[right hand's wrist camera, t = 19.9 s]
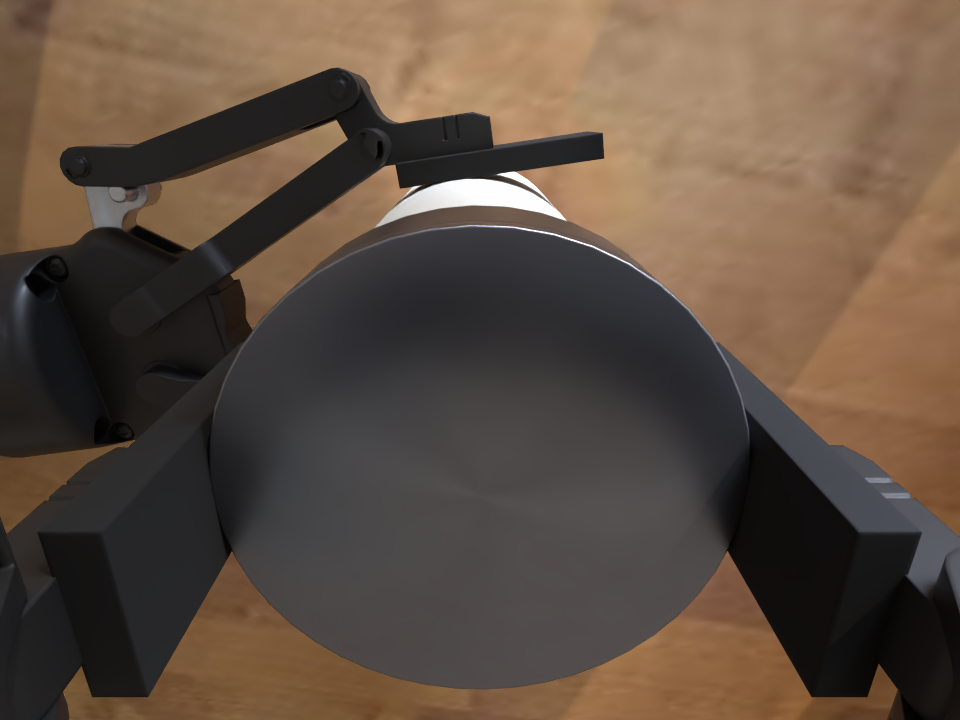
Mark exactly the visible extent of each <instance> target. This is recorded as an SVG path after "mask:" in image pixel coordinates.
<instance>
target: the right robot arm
mask: <svg viewBox="0 0 960 720" xmlns="http://www.w3.org/2000/svg"><path fill="white" fill-rule="evenodd" d="M243 343H244V342H241V343H240V344H239V345H237V346H236V347H235V348H234V349H233V350H232V351H231V352H230V353H229V354H228V355H227V356H226V357H225V358H224V359H222V360H221V361H220V362H219V363H218V364H217V365H216V366H215V367H214V368H213V369H212V370H211V371H210V372H209V373H207V374H206V375H205V376H204V377H203V378H202V379H201V380H200V381H199V382H198V383H197V384H196V385H195V386H193V387H192V388H191V389H190V390H189V391H188V392H187V393H186V394H185V395H184V396H183V397H182V398H181V399H180V400H178V401H177V402H176V403H175V404H174V405H173V406H172V407H171V408H170V409H169V410H168V411H167V412H166V413H165V414H163V415H162V416H161V417H160V418H159V419H158V420H157V421H156V422H155V423H154V424H153V425H152V426H151V427H150V428H148V429H147V430H146V431H145V432H144V433H143V434H142V435H141V436H140V437H139V438H138V439H137V440H136V441H134V442H133V443H132V444H131V445H130V446H129V447H117V448H115V449H114V450H112V451H110V452H108V453H106V454H104V455H102V456H100V457H98V458H96V459H95V460H93V461H91V462H89V463H87V464H86V465H85V466H84V467H83V468H82V469H80V470H79V471H78V472H77V473H76V474H75V475H74V476H72V477H71V478H70V479H69V480H68V481H67V485H62V486H61V487H60V488H59V489H58V490H57V491H55V492H54V493H53V494H52V495H51V496H50V497H49V498H50V499H49V501H44V502H43V503H42V504H41V505H39V506H38V507H37V508H36V509H35V510H34V511H33V512H31V513H30V514H29V515H28V516H27V517H26V518H25V519H23V520H22V521H21V522H20V523H19V524H18V525H17V526H15V527H14V528H13V529H12V530H11V531H10V532H9V533H7V534H6V532H5V529H4V526H3V523H2V521H1V518H0V720H69V713H68V706H67V702H66V699H65V697H64V694H63V690H64V689H65V688H66V686H67V685H68V684H69V682H70V681H71V679H72V678H73V677H74V675H75V674H76V673H77V671H78V670H79V668H80V667H81V666H82V668H83V671H84V674H85V677H86V680H87V683H88V686H89V689H90V692H91V695H92V697H148V696H149V694H150V693H151V691H152V689H153V687H154V686H155V684H156V682H157V680H158V679H159V677H160V675H161V674H162V672H163V670H164V668H165V667H166V665H167V663H168V661H169V660H170V658H171V656H172V654H173V653H174V651H175V649H176V647H177V646H178V644H179V642H180V640H181V639H182V637H183V635H184V633H185V632H186V630H187V628H188V627H189V625H190V623H191V621H192V620H193V618H194V616H195V614H196V613H197V611H198V609H199V607H200V606H201V604H202V602H203V600H204V599H205V597H206V595H207V593H208V592H209V590H210V588H211V586H212V585H213V583H214V581H215V580H216V578H217V576H218V574H219V573H220V571H221V569H222V567H223V566H224V564H225V562H226V560H227V559H228V557H229V555H230V553H231V552H232V550H231V547H230V545H229V543H228V541H227V539H226V537H225V535H224V532H223V530H222V527H221V524H220V521H219V517H218V514H217V510H216V506H215V501H214V496H213V490H212V485H211V480H210V473H209V440H210V433H211V427H212V421H213V415H214V409H215V406H216V403H217V400H218V397H219V394H220V391H221V388H222V385H223V382H224V379H225V376H226V374H227V372H228V371H229V369H230V367H231V365H232V363H233V361H234V359H235V357H236V355H237V353H238V351H239V349H240V347H241V346H242V345H243ZM715 343H716V344H717V346H718V348H719V349H720V351H721V353H722V354H723V356H724V358H725V359H726V361H727V363H728V364H729V366H730V369H731V371H732V374H733V376H734V379H735V381H736V384H737V386H738V389H739V391H740V394H741V396H742V400H743V405H744V409H745V414H746V418H747V422H748V427H749V440H750V455H751V462H750V473H749V482H748V488H747V493H746V498H745V503H744V507H743V512H742V517H741V520H740V523H739V525H738V528H737V530H736V533H735V535H734V538H733V540H732V543H731V545H730V547H729V549H728V552H729V554H730V556H731V558H732V559H733V561H734V563H735V565H736V566H737V568H738V570H739V571H740V573H741V575H742V577H743V578H744V580H745V582H746V584H747V585H748V587H749V589H750V591H751V592H752V594H753V596H754V598H755V599H756V601H757V603H758V605H759V606H760V608H761V610H762V612H763V613H764V615H765V617H766V618H767V620H768V622H769V624H770V625H771V627H772V629H773V631H774V632H775V634H776V636H777V638H778V639H779V641H780V643H781V645H782V646H783V648H784V650H785V652H786V653H787V655H788V657H789V659H790V660H791V662H792V664H793V666H794V667H795V669H796V671H797V672H798V674H799V676H800V678H801V679H802V681H803V683H804V685H805V686H806V688H807V690H808V692H809V693H810V695H811V697H868V694H869V691H870V688H871V685H872V682H873V679H874V676H875V673H876V670H877V667H878V664H880V666H881V667H882V668H883V670H884V671H885V673H886V674H887V675H888V677H889V678H890V679H891V681H892V682H893V683H894V685H895V686H896V688H897V689H898V691H897V694H896V697H895V699H894V702H893V705H892V708H891V711H890V713H889V716H888V719H887V720H960V537H959V536H958V535H957V534H956V533H955V532H954V531H952V530H951V529H950V528H949V527H948V526H947V525H945V524H944V523H943V522H942V521H941V520H940V519H939V518H937V517H936V516H935V515H934V514H933V513H932V512H931V511H929V510H928V509H927V508H926V507H925V506H924V505H922V504H921V503H920V502H919V501H918V500H917V499H916V498H911V494H910V493H909V492H908V491H906V490H905V489H904V488H903V487H902V486H901V485H899V484H898V483H894V482H893V478H891V477H890V476H889V475H888V474H887V473H886V472H884V471H883V470H882V469H881V468H880V467H879V466H878V465H876V464H875V463H874V462H873V461H872V460H870V459H868V458H866V457H864V456H862V455H860V454H858V453H856V452H854V451H852V450H851V449H849V448H847V447H845V446H843V445H828V444H827V443H826V442H825V441H824V440H823V439H822V438H821V437H820V436H819V435H818V434H816V433H815V432H814V431H813V430H812V429H811V428H810V427H809V426H808V425H807V424H806V423H805V422H804V421H803V420H801V419H800V418H799V417H798V416H797V415H796V414H795V413H794V412H793V411H792V410H791V409H790V408H789V407H788V406H786V405H785V404H784V403H783V402H782V401H781V400H780V399H779V398H778V397H777V396H776V395H775V394H774V393H773V392H771V391H770V390H769V389H768V388H767V387H766V386H765V385H764V384H763V383H762V382H761V381H760V380H759V379H758V378H756V377H755V376H754V375H753V374H752V373H751V372H750V371H749V370H748V369H747V368H746V367H745V366H744V365H742V364H741V363H740V362H739V361H738V360H737V359H736V358H735V357H734V356H733V355H732V354H731V353H730V352H729V351H727V350H726V349H725V348H724V347H723V346H722V345H721V344H720V343H719V342H715Z"/></svg>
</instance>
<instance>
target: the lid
mask: <svg viewBox="0 0 960 720" xmlns="http://www.w3.org/2000/svg"><path fill="white" fill-rule="evenodd" d="M750 462H751V455H750V440H749V427H748V422H747V418H746V414H745V409H744V405H743V400H742V396H741V394H740V391H739V389H738V386H737V384H736V381H735V379H734V376H733V374H732V371H731V369H730V366H729V364H728V363H727V361H726V359H725V358H724V356H723V354H722V353H721V351H720V349H719V348H718V346H717V344H716V343H715V341H714V339H713V337H712V336H711V335H710V333H709V332H708V331H707V330H706V329H705V327H704V326H703V325H702V324H701V323H700V321H699V320H698V319H697V318H696V317H695V315H694V314H693V313H692V312H691V310H690V309H689V308H688V307H687V306H685V305H684V304H683V303H682V302H681V301H680V300H679V299H678V298H677V297H675V296H674V295H673V294H672V293H671V292H670V291H669V290H668V289H667V288H666V287H664V286H663V285H662V284H661V283H660V282H659V281H658V280H657V279H656V278H654V277H653V276H652V275H651V274H650V273H649V272H648V271H647V270H646V269H644V268H643V267H642V266H641V265H640V264H639V263H638V262H637V261H635V260H634V259H633V258H632V257H631V256H630V255H629V254H627V253H626V252H624V251H623V250H621V249H620V248H618V247H617V246H615V245H614V244H612V243H611V242H609V241H608V240H606V239H605V238H603V237H601V236H599V235H597V234H595V233H593V232H591V231H589V230H587V229H585V228H583V227H581V226H578V225H576V224H574V223H572V222H569V221H566V220H563V219H559V218H556V217H553V216H550V215H547V214H544V213H541V212H535V211H529V210H524V209H518V208H513V207H506V206H481V205H470V206H459V207H448V208H438V209H434V210H430V211H426V212H421V213H417V214H413V215H408V216H405V217H402V218H400V219H397V220H394V221H392V222H389V223H386V224H384V225H381V226H379V227H376V228H374V229H372V230H370V231H368V232H366V233H365V234H363V235H361V236H359V237H357V238H356V239H354V240H352V241H350V242H348V243H346V244H345V245H344V246H342V247H341V248H340V249H338V250H337V251H336V252H334V253H333V254H332V255H330V256H329V257H328V258H326V259H325V260H324V261H322V262H321V263H320V264H319V265H318V266H317V267H315V268H314V269H313V270H312V271H311V272H310V273H309V274H308V275H307V276H305V277H304V278H303V279H302V280H301V281H300V282H299V283H298V284H297V285H295V286H294V287H293V288H292V289H291V290H290V291H289V292H288V293H287V294H286V295H285V296H284V297H283V298H282V299H281V300H280V301H279V302H278V303H277V304H276V305H275V306H274V307H273V308H272V309H271V310H270V311H269V312H268V313H267V314H266V315H265V316H264V317H263V318H262V319H261V320H260V321H259V323H258V324H257V325H256V327H255V328H254V330H253V331H252V332H251V334H250V335H249V336H248V338H247V339H246V341H245V342H244V343H243V345H242V346H241V347H240V349H239V351H238V353H237V355H236V357H235V359H234V361H233V363H232V365H231V367H230V369H229V371H228V372H227V374H226V376H225V379H224V382H223V385H222V388H221V391H220V394H219V397H218V400H217V403H216V406H215V409H214V415H213V421H212V427H211V433H210V440H209V473H210V480H211V485H212V490H213V496H214V501H215V506H216V510H217V514H218V517H219V521H220V524H221V527H222V530H223V532H224V535H225V537H226V539H227V541H228V543H229V545H230V547H231V550H232V552H233V554H234V556H235V558H236V559H237V561H238V562H239V564H240V566H241V567H242V569H243V570H244V572H245V573H246V575H247V576H248V578H249V579H250V581H251V582H252V584H253V585H254V586H255V587H256V588H257V589H258V591H259V592H260V593H261V594H262V595H263V597H264V598H265V599H266V600H267V601H268V602H269V604H270V605H271V606H272V607H273V608H275V609H276V610H277V611H278V612H279V613H280V614H281V615H282V616H283V617H284V618H285V619H286V620H287V621H289V622H290V623H291V624H292V625H293V626H295V627H296V628H297V629H299V630H300V631H301V632H303V633H304V634H305V635H307V636H308V637H310V638H311V639H312V640H314V641H315V642H317V643H318V644H320V645H322V646H323V647H325V648H327V649H329V650H330V651H332V652H334V653H336V654H337V655H339V656H341V657H343V658H345V659H347V660H350V661H352V662H354V663H356V664H359V665H361V666H363V667H365V668H368V669H370V670H373V671H376V672H379V673H383V674H386V675H389V676H392V677H395V678H398V679H403V680H407V681H412V682H416V683H421V684H425V685H432V686H440V687H448V688H459V689H497V688H512V687H520V686H526V685H533V684H539V683H545V682H549V681H552V680H556V679H560V678H564V677H568V676H571V675H575V674H577V673H580V672H583V671H586V670H588V669H591V668H594V667H596V666H599V665H602V664H604V663H606V662H608V661H610V660H612V659H614V658H616V657H618V656H620V655H622V654H624V653H626V652H628V651H630V650H631V649H633V648H634V647H636V646H637V645H639V644H641V643H642V642H644V641H645V640H647V639H648V638H650V637H652V636H653V635H655V634H656V633H657V632H658V631H659V630H661V629H662V628H663V627H664V626H666V625H667V624H668V623H669V622H671V621H672V620H673V619H674V618H676V617H677V616H678V615H679V614H680V613H681V612H682V611H683V610H684V609H685V608H686V607H687V606H688V605H689V604H690V603H691V602H692V600H693V599H694V598H695V597H696V596H697V595H698V594H699V593H700V591H701V590H702V589H703V587H704V586H705V585H706V584H707V582H708V581H709V580H710V578H711V577H712V576H713V574H714V573H715V572H716V570H717V568H718V566H719V565H720V563H721V561H722V559H723V558H724V556H725V554H726V552H727V551H728V549H729V547H730V545H731V543H732V540H733V538H734V535H735V533H736V530H737V528H738V525H739V523H740V520H741V517H742V512H743V507H744V503H745V498H746V493H747V488H748V482H749V473H750Z"/></svg>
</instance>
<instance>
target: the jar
mask: <svg viewBox="0 0 960 720" xmlns="http://www.w3.org/2000/svg"><path fill="white" fill-rule="evenodd" d="M470 205H481V206H506V207H513V208H518V209H524V210H529V211H535V212H541V213H544V214H547V215H550V216H553V217H556V218H559V219H563V220H565V218H564V217H563V216H562V215H561V214H560V213H559V212H558V211H557V210H556V208H555V207H554V206H553V205H552V204H551V203H550V202H549V201H548V200H547V198H546V197H545V196H544V195H543V194H542V193H541V192H540V191H539V190H538V188H537V187H535V186H534V185H533V184H532V183H531V182H529V181H528V180H527V179H525V178H524V177H522V176H521V175H519V174H517V173H515V172H509V173H502V174H495V175H488V176H482V177H475V178H468V179H461V180H455V181H448V182H441V183H434V184H428V185H421V186H414V187H412V188H411V189H410V191H409V192H408V193H407V194H406V195H405V196H404V197H403V198H402V199H401V200H400V201H399V202H398V203H397V204H396V205H395V206H394V207H393V208H392V210H391V211H390V212H389V213H388V214H387V215H386V216H385V217H384V218H383V219H382V220H381V221H380V222H379V223H378V224H377V225H376V226H375V227H374V228H376V227H379V226H381V225H384V224H386V223H389V222H392V221H394V220H397V219H400V218H402V217H405V216H408V215H413V214H417V213H421V212H426V211H430V210H434V209H438V208H448V207H459V206H470ZM374 228H373V229H374Z"/></svg>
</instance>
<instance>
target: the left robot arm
mask: <svg viewBox="0 0 960 720" xmlns="http://www.w3.org/2000/svg"><path fill="white" fill-rule="evenodd" d="M335 120H337V121H338V123H339V125H340V126H341V128H342V130H343V132H344V133H345V135H346V137H347V138H348V140H347V141H346V142H344V143H343V144H341V145H340V146H339V147H337V148H336V149H334V150H333V151H332V152H330V153H329V154H328V155H326V156H325V157H323V158H322V159H321V160H319V161H318V162H316V163H315V164H314V165H312V166H311V167H309V168H308V169H307V170H305V171H304V172H303V173H301V174H300V175H298V176H297V177H296V178H294V179H293V180H291V181H290V182H289V183H287V184H286V185H285V186H283V187H282V188H280V189H279V190H278V191H276V192H275V193H273V194H272V195H271V196H269V197H268V198H266V199H265V200H264V201H262V202H261V203H260V204H258V205H257V206H255V207H254V208H253V209H251V210H250V211H248V212H247V213H246V214H244V215H243V216H242V217H240V218H239V219H237V220H236V221H235V222H233V223H232V224H230V225H229V226H228V227H226V228H225V229H224V230H222V231H221V232H219V233H218V234H217V235H215V236H214V237H212V238H211V239H209V240H208V241H206V242H204V243H203V244H201V245H200V246H198V247H196V248H195V249H193V250H192V251H191V250H189V249H187V248H185V247H183V246H181V245H178V244H176V243H174V242H172V241H170V240H168V239H166V238H164V237H162V236H160V235H158V234H156V233H153V232H151V231H149V230H147V229H145V228H143V227H141V226H139V225H136V216H137V213H138V212H139V210H140V209H142V208H143V207H146V206H150V205H153V204H154V203H156V202H157V201H158V199H159V198H160V194H161V190H162V186H161V183H160V182H163V181H168V180H173V179H179V178H184V177H187V176H190V175H193V174H196V173H199V172H202V171H204V170H207V169H209V168H212V167H215V166H217V165H220V164H223V163H225V162H228V161H230V160H233V159H236V158H238V157H241V156H244V155H246V154H249V153H251V152H254V151H257V150H259V149H262V148H264V147H267V146H270V145H272V144H275V143H278V142H280V141H283V140H285V139H288V138H291V137H293V136H296V135H299V134H301V133H304V132H306V131H309V130H312V129H314V128H317V127H320V126H322V125H325V124H327V123H330V122H333V121H335ZM597 159H604V147H603V133H597V132H581V133H574V134H568V135H561V136H554V137H548V138H541V139H534V140H528V141H521V142H514V143H508V144H501V145H494V146H493V139H492V131H491V123H490V117H489V116H486V115H482V114H478V113H474V112H471V113H464V114H458V115H451V116H445V117H438V118H432V119H425V120H418V121H412V122H405V123H397V122H393V121H392V120H390V119H388V118H387V117H386V116H385V115H384V114H383V113H382V111H381V110H380V108H379V106H378V104H377V103H376V101H375V99H374V97H373V95H372V93H371V92H370V86H369V85H368V83H367V81H366V80H365V79H364V78H362V77H361V76H360V75H357V74H355V73H352V72H350V71H347V70H344V69H341V68H332V69H328V70H326V71H323V72H321V73H318V74H315V75H313V76H310V77H308V78H305V79H303V80H300V81H298V82H295V83H293V84H290V85H287V86H285V87H282V88H280V89H277V90H275V91H272V92H270V93H267V94H265V95H262V96H259V97H257V98H254V99H252V100H249V101H247V102H244V103H242V104H239V105H236V106H234V107H231V108H229V109H226V110H224V111H221V112H219V113H216V114H214V115H211V116H208V117H206V118H203V119H201V120H198V121H196V122H193V123H191V124H188V125H186V126H183V127H180V128H178V129H175V130H173V131H170V132H168V133H165V134H163V135H160V136H157V137H155V138H152V139H150V140H147V141H145V142H142V143H140V144H109V145H94V146H78V147H71V148H68V149H66V150H65V151H64V152H63V153H62V155H61V158H60V167H61V169H62V172H63V174H64V175H65V176H66V178H67V179H68V180H69V181H71V182H72V183H74V184H75V185H79V186H84V187H85V192H86V196H87V201H88V205H89V210H90V214H91V219H92V224H93V228H94V229H93V230H91V231H89V232H87V233H86V234H85V235H84V236H83V237H82V238H81V239H80V240H79V241H78V242H76V243H75V244H73V245H67V246H60V247H53V248H46V249H40V250H33V251H26V252H19V253H12V254H6V255H0V460H3V459H7V458H11V457H29V456H37V455H45V454H53V453H60V452H68V451H76V450H83V449H91V448H99V447H104V446H109V445H114V444H118V443H122V442H126V441H131V440H137V439H138V438H139V437H140V436H141V435H142V434H143V433H144V432H145V431H146V430H147V429H148V428H150V427H151V426H152V425H153V424H154V423H155V422H156V421H157V420H158V419H159V418H160V417H161V416H162V415H163V414H165V413H166V412H167V411H168V410H169V409H170V408H171V407H172V406H173V405H174V404H175V403H176V402H177V401H178V400H180V399H181V398H182V397H183V396H184V395H185V394H186V393H187V392H188V391H189V390H190V389H191V388H192V387H193V386H195V385H196V384H197V383H198V382H199V381H200V380H201V379H202V378H203V377H204V376H205V375H206V374H207V373H209V372H210V371H211V370H212V369H213V368H214V367H215V366H216V365H217V364H218V363H219V362H220V361H221V360H222V359H224V358H225V357H226V356H227V355H228V354H229V353H230V352H231V351H232V350H233V349H234V348H235V347H236V346H237V345H239V344H240V343H241V342H245V341H246V339H247V338H248V336H249V335H250V334H251V332H252V331H253V330H252V328H251V327H250V325H249V323H248V322H247V320H246V306H245V296H244V292H243V289H242V286H241V282H240V279H238V280H233V278H232V277H231V275H230V274H232V273H233V272H235V271H236V270H237V269H239V268H240V267H242V266H243V265H245V264H246V263H247V262H249V261H250V260H252V259H253V258H255V257H256V256H257V255H258V254H260V253H261V252H263V251H264V250H266V249H267V248H268V247H270V246H271V245H273V244H274V243H276V242H277V241H278V240H280V239H281V238H283V237H284V236H286V235H287V234H288V233H290V232H291V231H293V230H294V229H296V228H297V227H298V226H300V225H301V224H303V223H304V222H306V221H307V220H308V219H310V218H311V217H313V216H314V215H316V214H317V213H318V212H320V211H321V210H323V209H324V208H326V207H327V206H328V205H330V204H331V203H333V202H334V201H336V200H337V199H338V198H340V197H341V196H343V195H344V194H346V193H347V192H348V191H350V190H351V189H353V188H354V187H356V186H357V185H358V184H360V183H361V182H363V181H364V180H366V179H367V178H368V177H370V176H371V175H373V174H374V173H376V172H377V171H378V170H380V169H381V168H383V167H384V166H389V165H396V170H397V175H398V181H399V186H400V188H407V187H414V186H421V185H428V184H434V183H441V182H448V181H455V180H461V179H468V178H475V177H482V176H488V175H495V174H502V173H509V172H516V171H522V170H529V169H536V168H543V167H549V166H556V165H563V164H570V163H577V162H583V161H590V160H597Z"/></svg>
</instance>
